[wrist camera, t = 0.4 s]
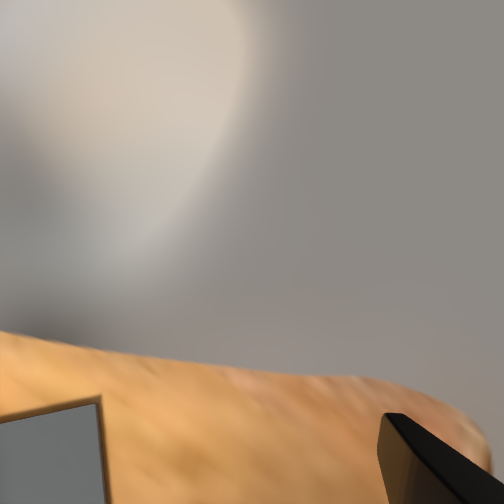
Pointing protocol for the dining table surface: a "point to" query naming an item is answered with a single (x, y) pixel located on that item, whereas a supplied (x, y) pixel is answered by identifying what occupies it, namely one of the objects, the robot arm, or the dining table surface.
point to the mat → (53, 459)
